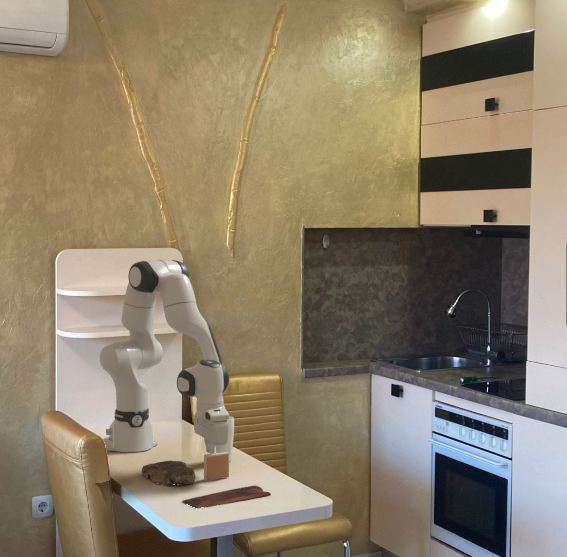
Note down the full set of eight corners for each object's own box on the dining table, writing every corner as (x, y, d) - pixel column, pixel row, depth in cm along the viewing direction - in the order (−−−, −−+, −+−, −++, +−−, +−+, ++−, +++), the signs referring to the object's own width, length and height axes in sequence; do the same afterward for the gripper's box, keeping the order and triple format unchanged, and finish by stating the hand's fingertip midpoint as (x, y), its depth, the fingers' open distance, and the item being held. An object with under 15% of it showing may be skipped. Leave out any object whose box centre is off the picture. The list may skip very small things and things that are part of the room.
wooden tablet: (193, 506, 248) (178, 493, 257) (193, 514, 249) (178, 500, 257) (273, 493, 262) (257, 480, 271) (273, 500, 263) (256, 487, 271)
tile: (203, 479, 278) (204, 454, 277) (226, 476, 281) (227, 451, 281) (206, 481, 276) (206, 456, 275) (229, 477, 280) (229, 453, 279)
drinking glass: (212, 459, 301) (212, 416, 300) (231, 457, 303) (231, 415, 302) (216, 464, 294) (216, 420, 293) (236, 463, 296) (236, 419, 295)
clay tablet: (205, 485, 272) (179, 468, 290) (205, 470, 272) (179, 453, 289) (163, 493, 265) (139, 475, 283) (162, 477, 265) (139, 460, 282)
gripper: (189, 405, 290) (189, 446, 291) (213, 417, 272) (213, 461, 273) (206, 403, 293) (207, 444, 294) (231, 415, 275) (231, 458, 276)
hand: (210, 452), depth 283 cm, fingers closed
